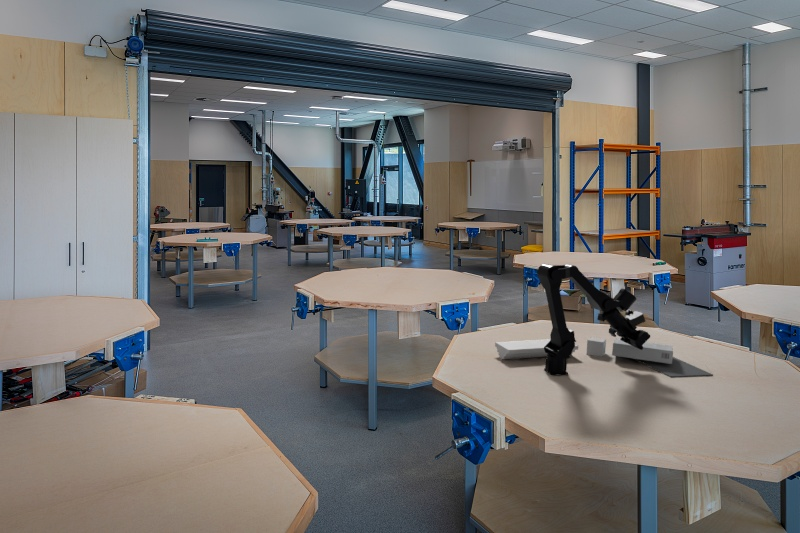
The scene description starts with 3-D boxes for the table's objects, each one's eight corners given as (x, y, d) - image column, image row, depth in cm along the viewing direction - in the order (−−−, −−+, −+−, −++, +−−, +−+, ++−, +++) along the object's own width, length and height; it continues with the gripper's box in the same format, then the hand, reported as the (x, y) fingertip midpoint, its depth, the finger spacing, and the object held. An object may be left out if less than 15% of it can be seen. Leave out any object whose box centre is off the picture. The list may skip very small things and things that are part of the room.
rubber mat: (668, 355, 227) (668, 354, 227) (713, 375, 203) (713, 374, 202) (629, 356, 224) (629, 355, 224) (670, 377, 200) (670, 376, 199)
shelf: (494, 355, 223) (495, 342, 222) (561, 350, 232) (562, 338, 231) (508, 363, 212) (508, 350, 211) (577, 358, 221) (578, 345, 220)
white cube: (586, 354, 226) (587, 339, 226) (589, 351, 231) (590, 336, 231) (602, 357, 223) (603, 342, 222) (605, 353, 228) (606, 339, 228)
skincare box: (671, 365, 209) (671, 357, 223) (673, 351, 208) (673, 344, 222) (611, 356, 217) (614, 349, 232) (612, 342, 217) (616, 336, 231)
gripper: (647, 310, 198) (673, 339, 201) (618, 300, 216) (642, 327, 220) (625, 332, 198) (651, 362, 201) (597, 320, 216) (622, 347, 219)
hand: (642, 348), depth 210 cm, fingers closed
